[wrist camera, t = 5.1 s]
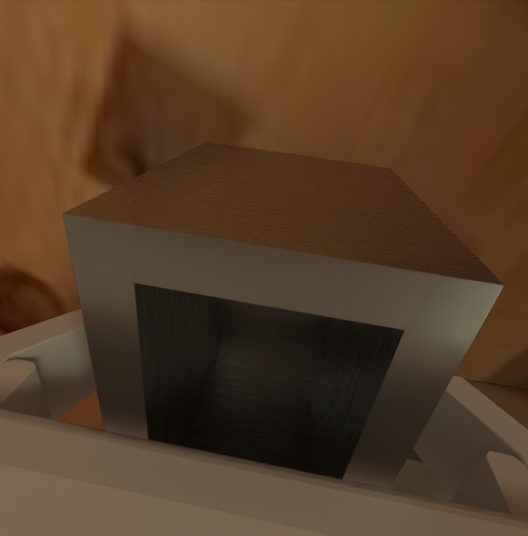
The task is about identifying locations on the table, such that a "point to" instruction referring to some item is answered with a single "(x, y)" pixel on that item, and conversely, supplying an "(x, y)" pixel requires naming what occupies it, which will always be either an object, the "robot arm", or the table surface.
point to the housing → (275, 309)
